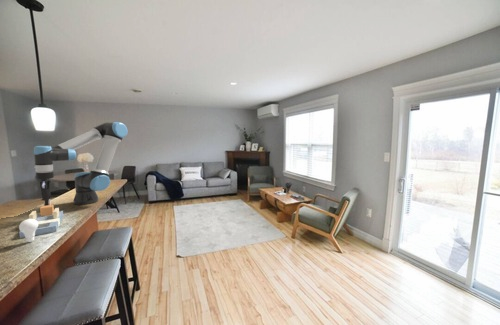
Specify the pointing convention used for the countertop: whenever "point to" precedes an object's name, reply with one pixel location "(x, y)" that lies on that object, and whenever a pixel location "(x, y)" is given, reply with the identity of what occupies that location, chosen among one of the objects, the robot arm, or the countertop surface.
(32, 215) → the tunnel deck
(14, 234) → the countertop surface
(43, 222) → the pad
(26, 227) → the lightbulb
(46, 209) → the block
